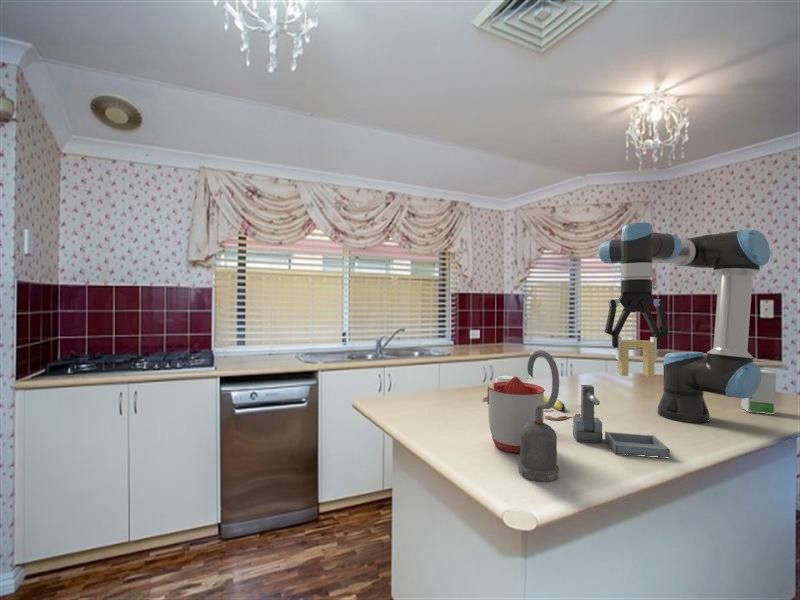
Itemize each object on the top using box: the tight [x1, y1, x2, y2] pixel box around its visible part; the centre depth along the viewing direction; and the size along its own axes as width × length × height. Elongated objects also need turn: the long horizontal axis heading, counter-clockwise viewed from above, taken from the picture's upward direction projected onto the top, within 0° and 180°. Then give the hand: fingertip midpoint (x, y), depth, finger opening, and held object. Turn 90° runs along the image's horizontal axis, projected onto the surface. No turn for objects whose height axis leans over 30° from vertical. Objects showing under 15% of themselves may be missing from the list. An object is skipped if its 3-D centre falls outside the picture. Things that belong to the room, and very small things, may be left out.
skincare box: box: [740, 369, 777, 414], centre depth 149 cm, size 8×7×16 cm
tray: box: [604, 431, 671, 457], centre depth 112 cm, size 13×11×2 cm
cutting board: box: [544, 395, 581, 421], centre depth 157 cm, size 35×27×4 cm
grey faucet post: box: [572, 384, 604, 445], centre depth 116 cm, size 7×14×16 cm, turn 166°
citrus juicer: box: [481, 376, 546, 454], centre depth 115 cm, size 16×17×20 cm
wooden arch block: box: [617, 339, 655, 378], centre depth 112 cm, size 8×4×10 cm, turn 76°
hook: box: [517, 349, 560, 483], centre depth 96 cm, size 10×12×30 cm
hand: (635, 360), depth 112 cm, fingers closed on wooden arch block, 8 cm apart
